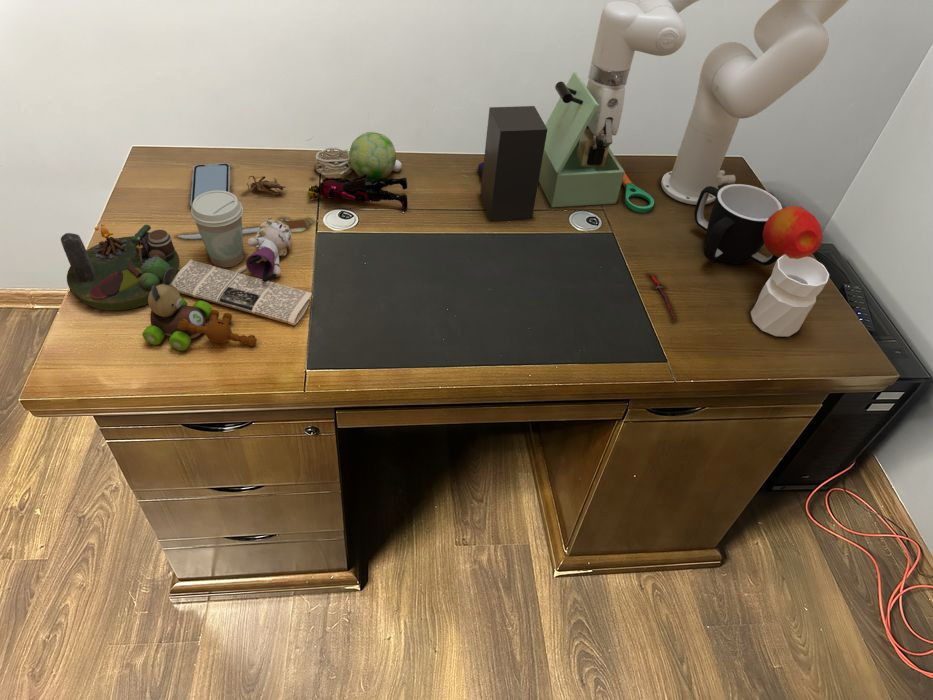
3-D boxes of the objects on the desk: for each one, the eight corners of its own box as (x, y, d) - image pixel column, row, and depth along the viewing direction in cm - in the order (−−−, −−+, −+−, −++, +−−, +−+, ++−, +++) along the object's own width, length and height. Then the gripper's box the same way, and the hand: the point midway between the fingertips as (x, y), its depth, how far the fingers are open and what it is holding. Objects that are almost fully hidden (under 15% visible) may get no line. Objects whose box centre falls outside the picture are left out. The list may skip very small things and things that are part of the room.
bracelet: (314, 163, 150) (350, 161, 152) (318, 179, 144) (356, 177, 146) (312, 145, 148) (350, 144, 150) (317, 161, 142) (355, 159, 144)
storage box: (595, 169, 157) (602, 137, 151) (616, 203, 148) (624, 171, 142) (534, 172, 154) (539, 140, 148) (551, 207, 145) (557, 175, 139)
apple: (830, 205, 113) (800, 196, 125) (774, 222, 115) (750, 211, 126) (838, 258, 116) (808, 244, 128) (784, 274, 118) (759, 259, 129)
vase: (759, 336, 122) (787, 285, 113) (744, 303, 128) (769, 252, 119) (806, 337, 123) (838, 287, 114) (789, 304, 129) (817, 253, 120)
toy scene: (76, 253, 124) (54, 204, 116) (181, 241, 128) (167, 192, 121) (66, 321, 112) (42, 271, 105) (183, 305, 117) (167, 255, 109)
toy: (253, 247, 114) (277, 203, 125) (206, 269, 117) (234, 225, 129) (284, 285, 118) (305, 239, 130) (238, 306, 122) (263, 260, 133)
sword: (178, 248, 127) (176, 232, 130) (178, 250, 127) (176, 233, 130) (313, 229, 134) (308, 214, 137) (314, 230, 134) (309, 215, 137)
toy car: (192, 354, 109) (175, 302, 101) (140, 342, 110) (120, 290, 102) (218, 315, 116) (205, 264, 108) (169, 305, 116) (152, 253, 108)
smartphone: (189, 207, 135) (193, 164, 144) (190, 210, 135) (194, 168, 145) (229, 204, 136) (229, 162, 146) (229, 208, 137) (230, 166, 146)
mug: (773, 284, 132) (799, 233, 124) (689, 269, 134) (709, 218, 125) (763, 234, 144) (787, 185, 135) (686, 221, 145) (705, 171, 136)
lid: (576, 72, 139) (554, 64, 137) (599, 105, 130) (576, 97, 128) (541, 139, 148) (520, 132, 146) (559, 173, 139) (537, 167, 137)
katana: (658, 273, 131) (657, 276, 132) (650, 273, 131) (649, 276, 132) (679, 321, 123) (677, 324, 124) (670, 322, 123) (668, 324, 124)
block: (599, 154, 149) (605, 128, 144) (604, 167, 145) (610, 141, 141) (576, 153, 148) (582, 128, 144) (581, 166, 145) (587, 140, 140)
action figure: (407, 188, 148) (313, 188, 147) (406, 161, 145) (310, 161, 143) (407, 219, 137) (305, 220, 135) (406, 191, 133) (301, 192, 132)
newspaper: (293, 320, 114) (294, 327, 115) (312, 292, 119) (313, 299, 120) (166, 285, 118) (169, 292, 119) (189, 259, 122) (192, 266, 123)
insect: (280, 168, 137) (293, 182, 141) (243, 169, 139) (257, 182, 144) (274, 188, 135) (288, 201, 140) (238, 189, 138) (252, 201, 143)
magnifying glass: (657, 211, 147) (659, 205, 146) (631, 214, 146) (633, 207, 144) (629, 173, 157) (631, 166, 156) (604, 174, 156) (606, 168, 154)
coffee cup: (209, 277, 122) (195, 221, 114) (198, 249, 127) (183, 194, 119) (257, 265, 125) (247, 210, 117) (244, 238, 130) (233, 184, 122)
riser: (520, 193, 148) (534, 105, 133) (532, 218, 142) (547, 129, 127) (480, 196, 146) (489, 107, 132) (489, 221, 140) (500, 131, 126)
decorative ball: (359, 115, 141) (376, 137, 150) (332, 155, 141) (351, 175, 150) (396, 136, 138) (411, 157, 148) (369, 178, 138) (386, 196, 148)
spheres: (365, 142, 158) (356, 143, 156) (366, 132, 156) (357, 133, 155) (402, 173, 150) (393, 174, 149) (404, 162, 149) (395, 163, 147)
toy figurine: (260, 315, 115) (258, 336, 110) (254, 333, 117) (252, 355, 111) (185, 296, 111) (179, 318, 105) (180, 315, 112) (174, 337, 107)
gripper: (643, 93, 128) (619, 178, 141) (611, 53, 139) (592, 135, 152) (605, 94, 126) (585, 179, 139) (576, 53, 138) (560, 136, 151)
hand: (589, 155), depth 146 cm, fingers closed on block, 5 cm apart
